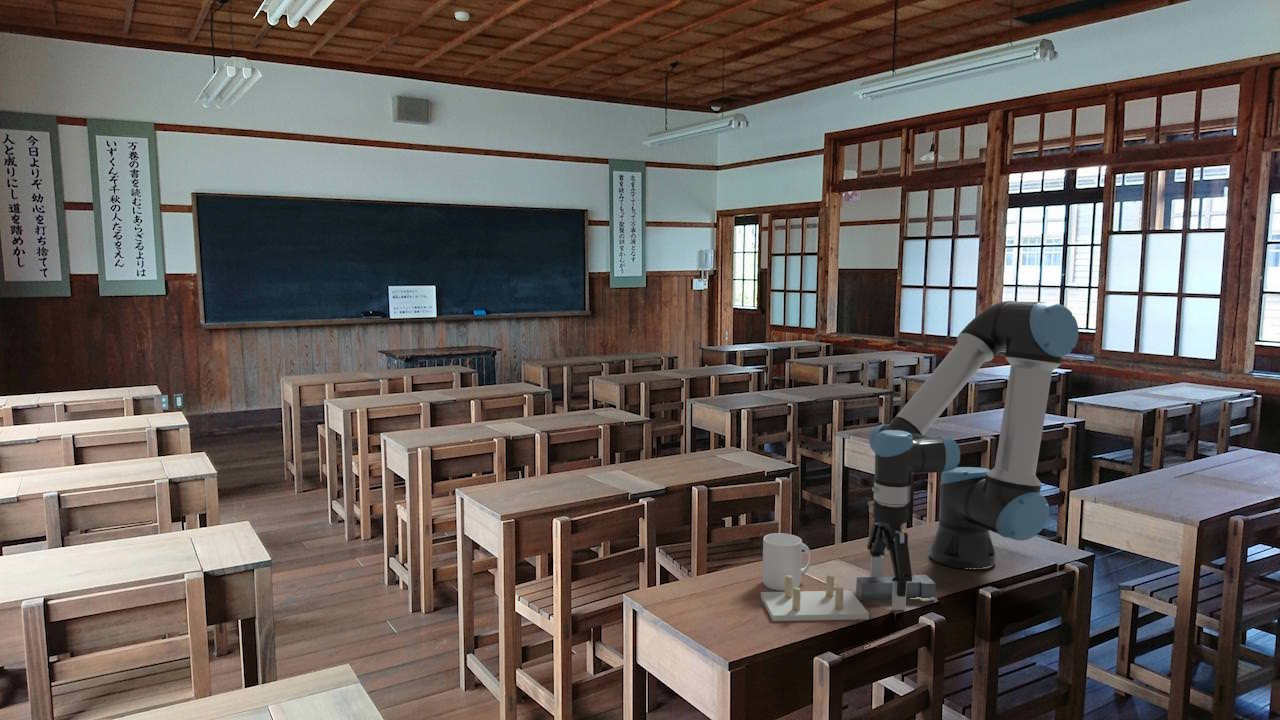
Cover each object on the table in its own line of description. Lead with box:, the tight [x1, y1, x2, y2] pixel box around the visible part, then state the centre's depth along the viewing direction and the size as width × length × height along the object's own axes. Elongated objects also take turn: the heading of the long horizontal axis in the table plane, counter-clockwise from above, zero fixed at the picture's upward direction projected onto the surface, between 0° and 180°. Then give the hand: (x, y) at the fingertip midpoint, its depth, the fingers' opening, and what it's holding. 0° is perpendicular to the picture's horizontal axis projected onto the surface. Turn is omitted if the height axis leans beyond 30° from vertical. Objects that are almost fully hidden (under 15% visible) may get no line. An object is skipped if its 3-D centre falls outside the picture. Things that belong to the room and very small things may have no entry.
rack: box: [760, 574, 870, 622], centre depth 169 cm, size 20×12×6 cm, turn 93°
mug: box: [762, 532, 812, 592], centre depth 182 cm, size 9×12×11 cm
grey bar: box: [855, 574, 937, 602], centre depth 175 cm, size 16×5×4 cm, turn 93°
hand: (886, 596), depth 175 cm, fingers open, 13 cm apart
